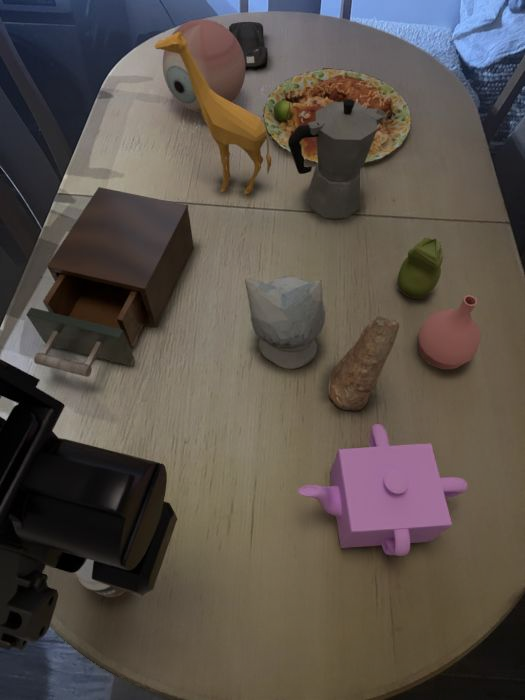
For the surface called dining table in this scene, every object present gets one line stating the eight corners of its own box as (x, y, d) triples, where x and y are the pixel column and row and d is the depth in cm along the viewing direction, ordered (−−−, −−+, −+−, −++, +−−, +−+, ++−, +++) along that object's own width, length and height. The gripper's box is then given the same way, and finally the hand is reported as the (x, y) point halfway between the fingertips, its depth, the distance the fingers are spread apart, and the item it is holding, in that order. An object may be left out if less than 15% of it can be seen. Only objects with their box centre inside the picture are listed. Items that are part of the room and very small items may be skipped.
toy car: (233, 71, 107) (232, 50, 103) (228, 33, 115) (227, 12, 111) (268, 70, 107) (269, 48, 104) (261, 32, 115) (261, 11, 111)
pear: (437, 287, 77) (459, 240, 69) (421, 311, 75) (442, 265, 66) (403, 271, 79) (420, 223, 70) (387, 293, 76) (403, 246, 68)
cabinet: (156, 327, 73) (145, 288, 66) (67, 306, 75) (46, 266, 67) (194, 247, 81) (187, 205, 74) (113, 230, 83) (98, 186, 75)
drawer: (115, 397, 66) (102, 371, 60) (27, 374, 68) (5, 346, 62) (170, 283, 76) (163, 251, 70) (92, 265, 78) (78, 232, 72)
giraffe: (173, 188, 88) (146, 35, 67) (181, 171, 91) (157, 18, 69) (268, 201, 87) (270, 49, 65) (272, 184, 89) (277, 31, 68)
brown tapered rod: (341, 420, 66) (379, 400, 68) (387, 365, 50) (435, 341, 52) (316, 380, 68) (353, 361, 70) (352, 314, 52) (399, 292, 54)
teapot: (299, 573, 56) (306, 555, 47) (287, 451, 63) (291, 417, 55) (461, 561, 57) (497, 541, 48) (431, 442, 64) (457, 407, 56)
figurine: (328, 328, 73) (343, 256, 60) (307, 380, 69) (318, 314, 56) (264, 307, 75) (265, 233, 62) (239, 356, 71) (235, 287, 58)
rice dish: (368, 195, 89) (375, 169, 84) (234, 135, 96) (234, 109, 91) (429, 112, 102) (438, 85, 97) (307, 64, 108) (310, 37, 103)
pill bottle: (84, 588, 55) (58, 576, 48) (105, 544, 58) (83, 527, 50) (124, 604, 54) (103, 594, 47) (143, 559, 57) (127, 543, 50)
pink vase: (401, 339, 72) (425, 285, 62) (448, 323, 74) (479, 268, 63) (430, 385, 68) (460, 335, 58) (479, 367, 70) (517, 316, 60)
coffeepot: (356, 174, 90) (376, 73, 75) (381, 210, 86) (407, 110, 70) (274, 195, 88) (277, 94, 72) (295, 233, 83) (303, 134, 68)
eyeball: (153, 114, 99) (138, 32, 86) (196, 76, 106) (188, -6, 93) (220, 139, 95) (214, 57, 82) (260, 97, 102) (260, 16, 89)
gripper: (-221, 580, 29) (-69, 608, 42) (83, 682, 26) (144, 678, 40) (-99, 407, 35) (1, 480, 48) (161, 476, 32) (191, 533, 45)
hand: (79, 540), depth 45 cm, fingers closed
